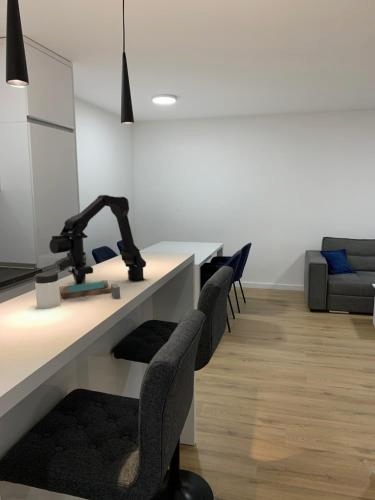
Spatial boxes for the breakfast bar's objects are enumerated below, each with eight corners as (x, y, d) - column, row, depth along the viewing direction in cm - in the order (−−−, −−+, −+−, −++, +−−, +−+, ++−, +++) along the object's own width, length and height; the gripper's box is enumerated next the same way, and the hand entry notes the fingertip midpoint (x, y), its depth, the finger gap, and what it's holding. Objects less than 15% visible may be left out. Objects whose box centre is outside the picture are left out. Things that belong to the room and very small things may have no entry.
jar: (62, 306, 149) (59, 274, 147) (38, 310, 145) (35, 277, 143) (58, 300, 157) (55, 270, 155) (36, 304, 153) (33, 273, 151)
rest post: (117, 294, 163) (116, 283, 162) (120, 298, 157) (119, 287, 157) (111, 295, 162) (110, 284, 161) (114, 299, 156) (113, 287, 156)
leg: (106, 285, 169) (106, 279, 169) (108, 287, 167) (108, 281, 166) (68, 291, 161) (68, 285, 161) (70, 292, 159) (69, 286, 159)
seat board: (106, 285, 179) (106, 281, 179) (111, 292, 166) (111, 288, 166) (59, 291, 172) (59, 286, 172) (61, 299, 159) (61, 294, 159)
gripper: (48, 249, 164) (51, 285, 167) (64, 255, 149) (67, 296, 152) (75, 246, 170) (77, 281, 173) (92, 252, 156) (94, 291, 158)
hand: (78, 287), depth 164 cm, fingers closed
